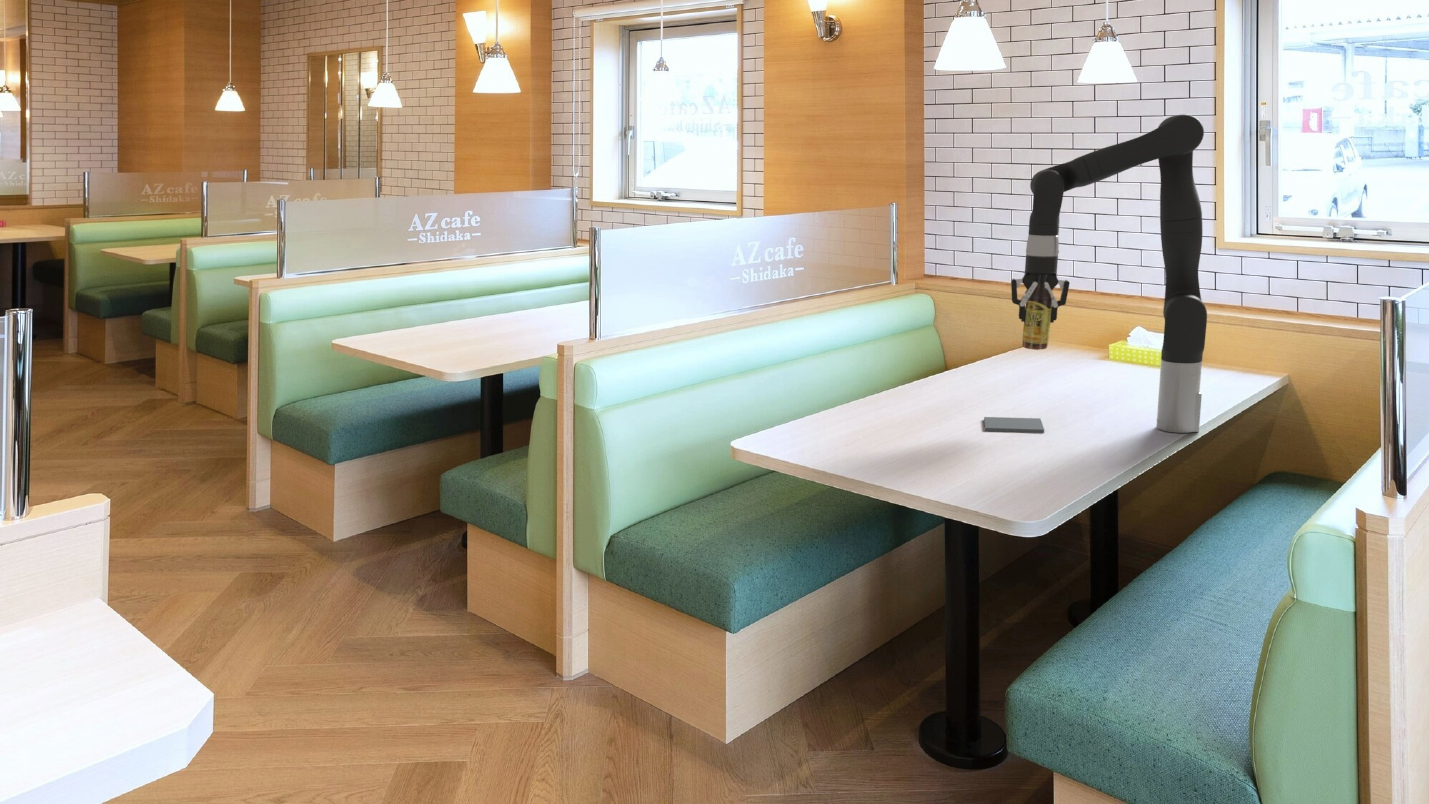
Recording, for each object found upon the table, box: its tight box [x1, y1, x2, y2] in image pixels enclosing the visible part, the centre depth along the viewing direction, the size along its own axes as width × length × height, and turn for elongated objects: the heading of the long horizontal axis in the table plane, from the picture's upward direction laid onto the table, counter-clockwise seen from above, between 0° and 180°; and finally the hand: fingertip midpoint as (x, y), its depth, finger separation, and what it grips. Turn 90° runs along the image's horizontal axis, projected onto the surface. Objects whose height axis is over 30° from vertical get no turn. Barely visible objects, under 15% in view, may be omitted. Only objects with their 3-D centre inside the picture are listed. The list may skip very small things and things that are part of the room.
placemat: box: [983, 416, 1045, 434], centre depth 276 cm, size 14×12×1 cm
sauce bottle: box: [1022, 274, 1052, 351], centre depth 269 cm, size 7×6×20 cm
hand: (1037, 321), depth 270 cm, fingers closed on sauce bottle, 6 cm apart
